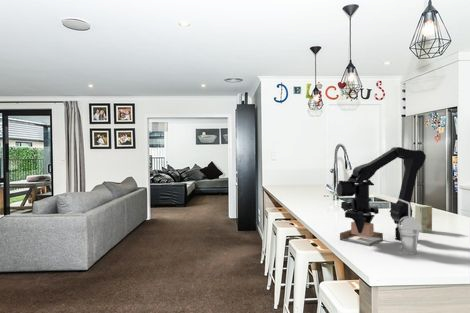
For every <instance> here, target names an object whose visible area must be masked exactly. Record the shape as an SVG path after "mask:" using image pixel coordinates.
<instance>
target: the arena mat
mask: <svg viewBox="0 0 470 313" xmlns="http://www.w3.org/2000/svg"><path fill="white" fill-rule="evenodd" d="M341 241H343V242H348V243H353V244H357V245H362V246H367V247H370V246H373V245H374V244H377V243H379V242H382V241H383V240H382V239H381V238H375V237H366V236H361V235H355V234H354V235H351V236H348V237H346V238H343V239H342V240H341Z"/></svg>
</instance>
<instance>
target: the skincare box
mask: <svg viewBox="0 0 470 313" xmlns="http://www.w3.org/2000/svg"><path fill="white" fill-rule="evenodd" d="M414 209H415V210H414V218H415V219H417V221H418V222H419V225H421V227H422V229H420V230H419V233H430V232H433V206H432V205H427V204H422V205H421V204H420V205H419V204H418V205H415V206H414Z"/></svg>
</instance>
